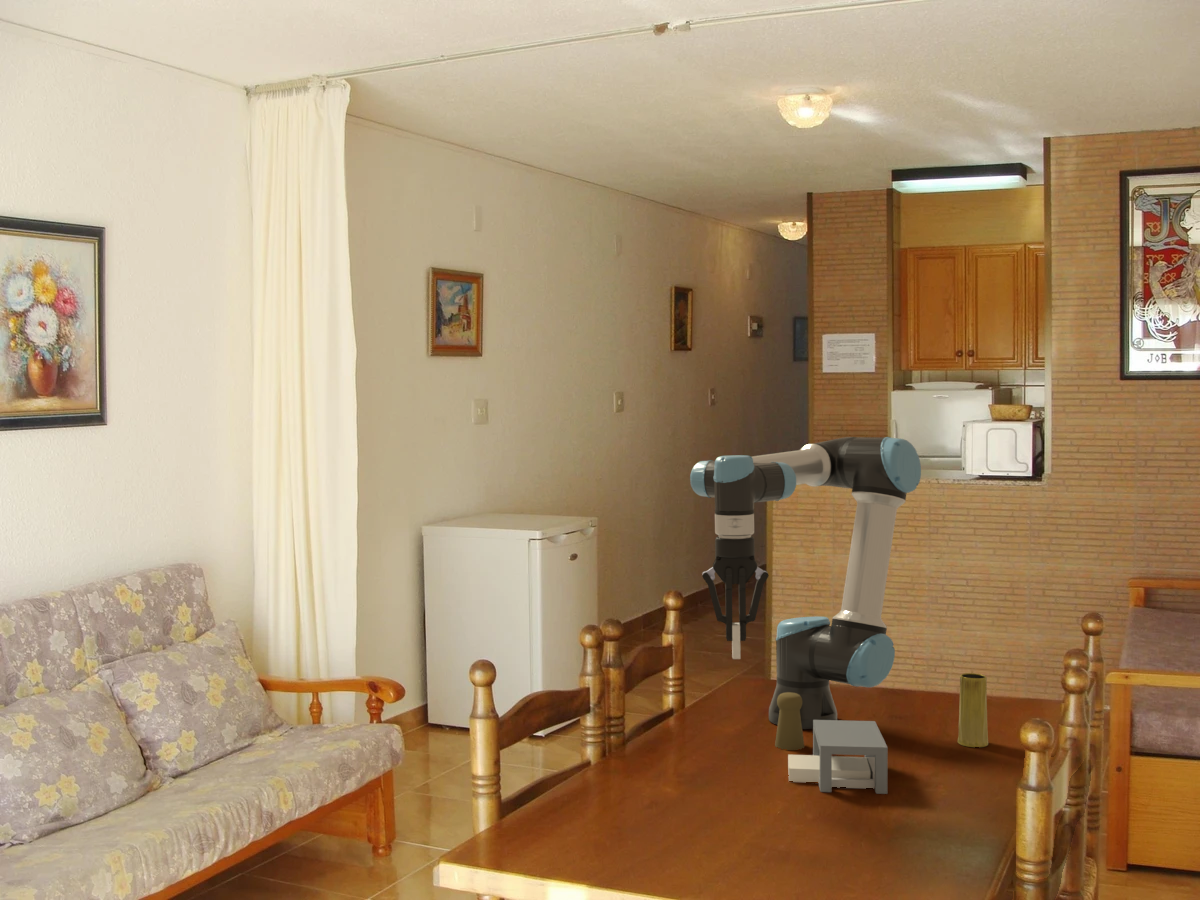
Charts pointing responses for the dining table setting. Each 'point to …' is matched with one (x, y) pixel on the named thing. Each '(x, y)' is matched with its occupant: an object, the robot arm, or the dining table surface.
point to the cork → (789, 722)
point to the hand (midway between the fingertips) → (736, 657)
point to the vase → (973, 710)
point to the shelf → (850, 752)
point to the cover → (842, 767)
